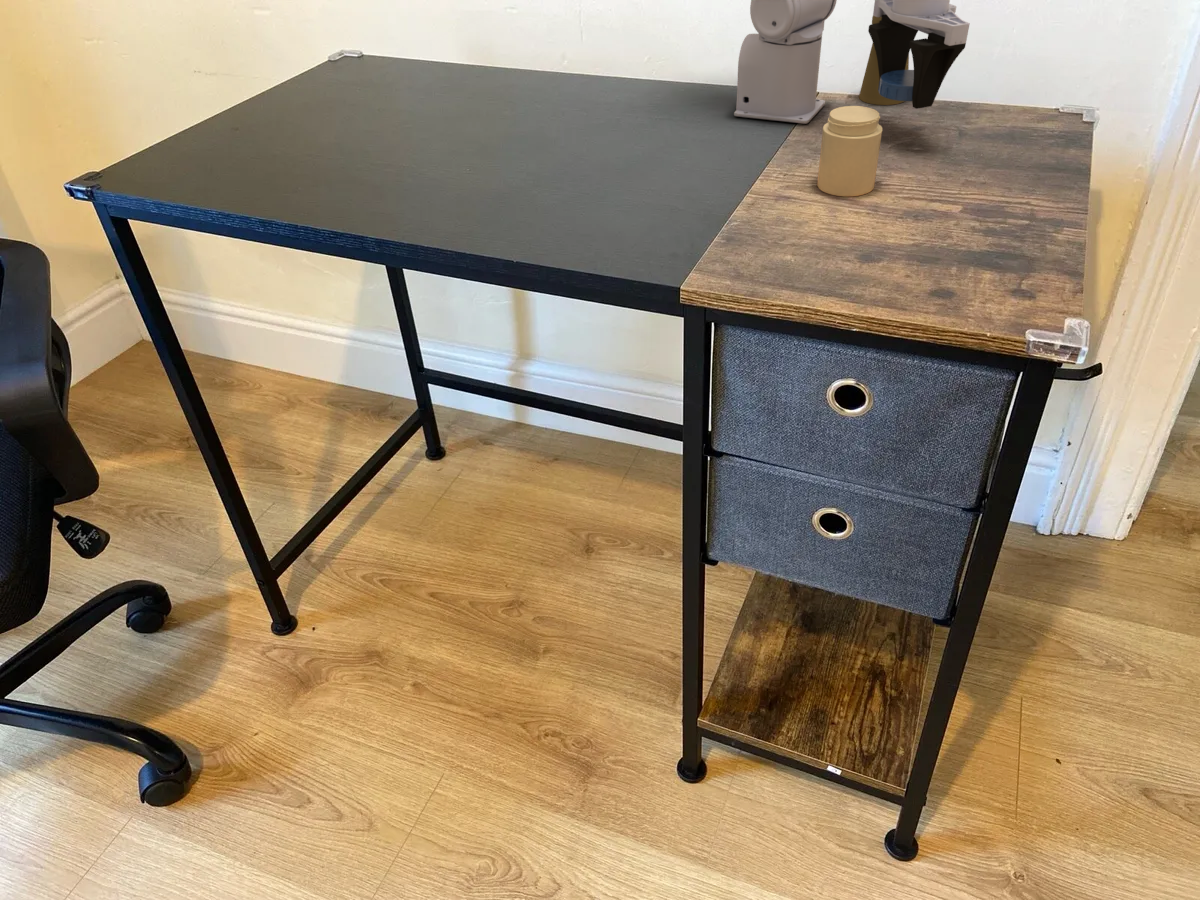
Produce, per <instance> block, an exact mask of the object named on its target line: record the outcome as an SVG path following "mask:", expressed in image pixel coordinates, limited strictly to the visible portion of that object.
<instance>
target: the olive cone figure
mask: <svg viewBox="0 0 1200 900" xmlns="http://www.w3.org/2000/svg"><path fill="white" fill-rule="evenodd" d="M871 18H872V19H871V24H876V23H879V21H880V20H881V18H882V17H875V16H873V15H872V17H871ZM909 63H910V54H909V55H908V58H907V62H906V67H905V70H910V69H909V65H910V64H909ZM879 81H880V80H879V69H878V62H877V56H876V51H875V47H874V44H873V42H872V44H871V47H870V50H869V56H868V59H867V63H866V67H865V71H864V75H863V79H862V82H861V87H860V91H859V95H858V98H859V100H860V101H862V102H863V103H867V104H870V105H877V106H892V105H893V106H894V105H899V104H901V103H906V101H898V100H892V99H888V98H885V97H883V96H881V95H880V94H879V91H878V88H879Z"/></svg>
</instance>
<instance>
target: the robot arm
mask: <svg viewBox="0 0 1200 900" xmlns="http://www.w3.org/2000/svg"><path fill="white" fill-rule="evenodd" d="M837 2H838V1H837V0H750V7H749V15H750V20H751V23H752V26H753V27H754V29H755V31H756V32H757V33H749V34H748V33H747V34H746V36H745V37H744V39H743V41H742V43H741V46H740V50H739V55H738V62H737V81H736V82H737V85H736V107H735V108H736V110H735V111H734V112H733V115H734V117H740V118H749V119H757V120H767V121H776V122H786V123H794V124H803V125H805V124H808V123H809V122H811V120H812V119H813V118H814V117H815V116H816V115H817V114H818V113H819V112H820V111H821V109H822V108H823V107H825V105H826V100H825V99H818V98H817V92H818V82H819V73H820V64H821V63H820V62H821V52H822V41H823V32H824V30H825V22H826V20H827V19H828V18H829V17H830V16H831V15H832V13H833V12H834V10H835V8H836V5H837ZM950 2H951V0H874V5H873V13H872V17H873V16H875V17H882V18H881V20H880V21H879V23H876V24H872V23H871V24H869V25H868V30H867V33H868V34H869V36H870V38H871V41H872V43H873V44H874V47H875V51H876V56H877V62H878V69H879V80H880V79H881V76H882V75H883V74H885V73H887V72H891V71H896V70H905V67H906V62H907V58H908V55H909V56H910V52H911V57H912V63H913V64H912V65H913V70H914V82H913V93H912V101H911V103H912V108H914V109H918V110H919V109H923V108H928V107H929V108H930V107H933V105H934V102H935V100H936V98H937V96H938V92H939V91H940V88H941V86H942V84H943V82H944V80H945V78H946V75H947V74H948V72H949V70H950V69H951V67H952V65H953V64H954V63H955V61H956V59H957V58H958V57H959V56H960V55H961V53H962V52H963V51H964V50H965V48H966V44H967V40H968V35H969V29H970V22H968V21H965V20H963V19H962V18H961V17H960V16H958V15H957V14H956V11H957V6H956V5H954V4H951V3H950ZM918 32H921V33H924V34H926V35H927V37H926V38H925V37H924V38H920V39H915V38H916V36H917V34H918Z"/></svg>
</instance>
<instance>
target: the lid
mask: <svg viewBox="0 0 1200 900" xmlns="http://www.w3.org/2000/svg"><path fill="white" fill-rule="evenodd" d="M913 82H914V69H909V70H896V71H891V72H887V73H885V74H883V75H882V76H881V79H880V81H879V88H878V91H879V94H880V95H881V96H883V97H885V98H888V99H892V100H898V101H905V102H912V93H913Z"/></svg>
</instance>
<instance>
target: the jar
mask: <svg viewBox="0 0 1200 900" xmlns="http://www.w3.org/2000/svg"><path fill="white" fill-rule="evenodd" d="M880 119H881V115H880V113H879V111H878V110H876V109H874V108H871V107H868V106H867V107H866V106H861V105H846V106H839V107H836V108H834V109H832V110H831V111H830V112H829V116H828V118H827V122H826V123H825V124H823V127H822V133H821V134H822V135H821V146H820V153H819V164H818V173H817V181H816V182H817V183H816V185H817V186H816V187H817V188H818V189H819V190H820V191H822V192H824V193H826V194H828V195H830V196H831V195H833V196H837V197H858V196H859V197H860V196H863V195H866V194H869V193H870V192H872V191H873V190H874V188H875V183H876V176H877V170H878V163H879V156H880V149H881V142H882V135H883V126H882V125H881V124H880V123H879V121H880Z"/></svg>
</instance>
